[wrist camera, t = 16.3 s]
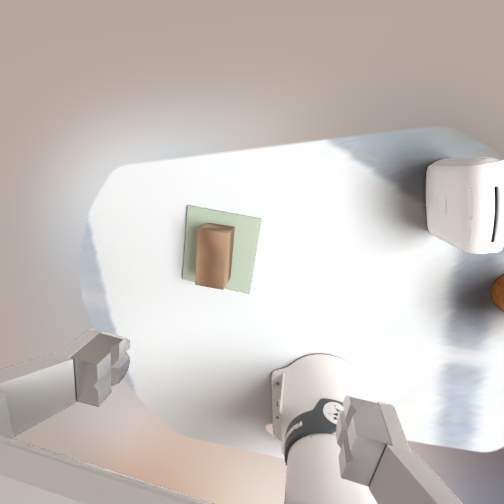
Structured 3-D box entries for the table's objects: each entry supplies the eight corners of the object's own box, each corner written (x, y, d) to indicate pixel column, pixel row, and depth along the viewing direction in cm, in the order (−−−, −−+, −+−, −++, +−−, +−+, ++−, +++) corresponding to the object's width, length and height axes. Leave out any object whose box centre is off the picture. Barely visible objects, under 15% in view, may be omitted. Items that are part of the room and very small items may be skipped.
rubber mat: (249, 292, 48) (248, 293, 48) (183, 277, 50) (182, 279, 49) (261, 218, 44) (260, 219, 44) (189, 205, 46) (187, 205, 45)
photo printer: (422, 161, 38) (474, 161, 26) (458, 155, 37) (528, 152, 25) (423, 235, 41) (470, 264, 29) (457, 231, 40) (519, 259, 28)
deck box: (235, 226, 45) (227, 233, 41) (230, 278, 48) (223, 289, 43) (208, 222, 45) (197, 228, 41) (205, 273, 48) (195, 284, 44)
